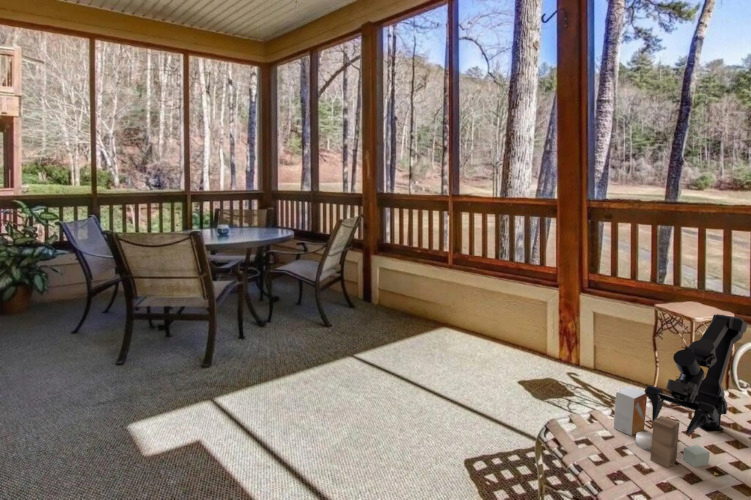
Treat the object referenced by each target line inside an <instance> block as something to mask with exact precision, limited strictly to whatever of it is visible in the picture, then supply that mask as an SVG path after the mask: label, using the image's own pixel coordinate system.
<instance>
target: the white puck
mask: <svg viewBox="0 0 751 500" xmlns="http://www.w3.org/2000/svg"><path fill="white" fill-rule="evenodd" d="M652 433H653V432H652ZM652 433H651V432H648V431H639V432H637V433H635V445H636V446H637V447H638V448H640V449H642V450H644V451H651V446H652Z"/></svg>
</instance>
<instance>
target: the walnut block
mask: <svg viewBox="0 0 751 500" xmlns="http://www.w3.org/2000/svg"><path fill="white" fill-rule="evenodd" d="M679 432H680V421H677V420H674V419H672V418H668V417H666V416H663V415H660V416H658V417H657V419H655V420H654V421H652V446H651V450H650V460H649V461H651V462H654V463H656V464H658V465H661V466H663V467H665V468H666V469H667V468H668V469H670V468H671V467H672V466H673V465H674V464H675V463H676V462H677V456H678V446H679V445H678V443H679Z"/></svg>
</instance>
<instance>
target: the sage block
mask: <svg viewBox="0 0 751 500" xmlns="http://www.w3.org/2000/svg"><path fill="white" fill-rule="evenodd" d="M682 460H683V461H684V462H686V463H688V465H690V466H692V467H693V468H699V467H703V466H708V465H709V462H710V451H709V450H707V449H705V448H704V447H702V446H700V445H698V444H696V445H690V446H685V447H683V453H682Z"/></svg>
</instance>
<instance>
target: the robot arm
mask: <svg viewBox="0 0 751 500" xmlns="http://www.w3.org/2000/svg"><path fill="white" fill-rule="evenodd" d="M744 320H745V319H744V318H742V317H738V316H737V317H736V316H731V315H726V314H718V313H717V314H713V316H712V317H711V322H710V323H709V325H708V327H707V328H706V330H705V331H704V333H703V334H702V336H701V337H700V338H699V339H697V340H695V341H692V342H691V343H690V344H689V345H688V346H685V348H684V349H680V350H678V351H676V352H675V353H674V354H673V362H674V363H675V365H676V368H677V370H678V371H679V372H680V374H679V376H678V378H675V379H674V380H673V379H671V378H669V379H668V380H667V383H666V389H665V390H666V391H667V390H668V393H669V394H666V393H664V391H663V389H662V388H660V387H657V386H654V385H651V384H649V385H648V386H646V387H645V389H644V390H643V391H644V392H645V393H646V395H647V400H648V399H649V401H650V402H651V404H652V405H651V406H652V415H651V416H652V418H651V419H652V422H653V421H654V420H655V419H657V418H658V417H659V415H660V412H661V411H662V407H663V403H664V402H669V403H671V404H675V405H677V406H680V407H683V408H686V409H690V410H692V411H694V414H693V415H692V418H691V420H690V422H689V424H688V426H687V429H686V431H685V435H687V436H688V435H690V434H692V432H694V431H695V430H696V429H698V428H699V427H700V429H702V430H704V431H706V432H710V431H711V432H712V431H723V430H724V427H722V426H721V419H722V417H721V416H722V415H727V413H728V403H727V401H726V398H725V390H724V388H723V386H722V385H723V384H722V383H723V380H724V376H725V373H726V370H727V367H728V363H729V360H730V357H731V354H732V351H733V347H734V344H736V343H738V342H739V341H740V340H742V338H743V335H744V334H745V333H746V331H747V329H748V323H747V322H746V321H744ZM702 367H704V368H707V371H706V373H705V370H704V369H703V368H702ZM670 394H671V395H670Z"/></svg>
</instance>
